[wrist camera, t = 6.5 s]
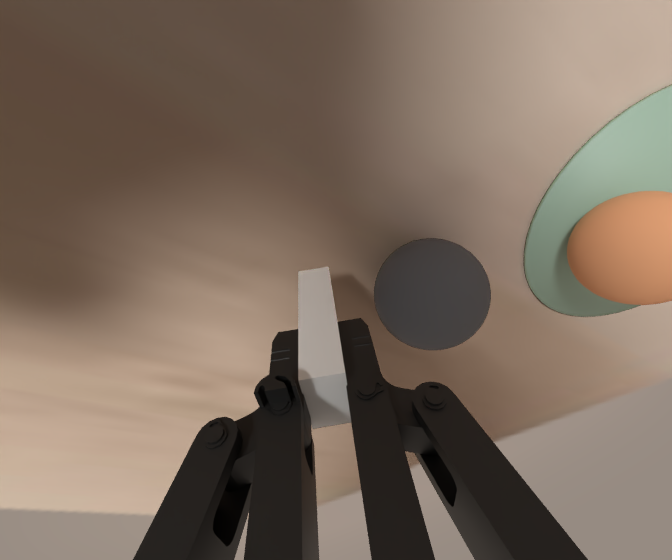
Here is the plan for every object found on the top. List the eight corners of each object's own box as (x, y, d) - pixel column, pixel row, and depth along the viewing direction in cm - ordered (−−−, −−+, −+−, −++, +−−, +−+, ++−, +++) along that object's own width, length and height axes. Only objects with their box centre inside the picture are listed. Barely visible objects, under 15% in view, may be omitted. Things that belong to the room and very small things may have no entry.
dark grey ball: (485, 380, 15) (465, 303, 19) (524, 289, 11) (489, 221, 16) (368, 367, 16) (374, 296, 20) (372, 278, 12) (379, 216, 17)
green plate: (504, 329, 22) (506, 331, 21) (559, 95, 14) (563, 95, 14) (702, 296, 22) (705, 298, 22) (866, 48, 14) (873, 47, 14)
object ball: (627, 342, 14) (722, 309, 15) (682, 231, 11) (797, 197, 12) (533, 281, 19) (609, 258, 20) (554, 191, 16) (643, 168, 17)
